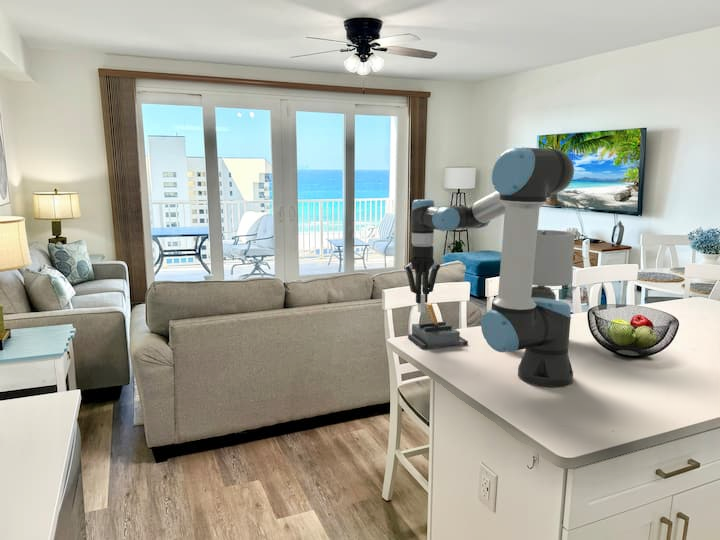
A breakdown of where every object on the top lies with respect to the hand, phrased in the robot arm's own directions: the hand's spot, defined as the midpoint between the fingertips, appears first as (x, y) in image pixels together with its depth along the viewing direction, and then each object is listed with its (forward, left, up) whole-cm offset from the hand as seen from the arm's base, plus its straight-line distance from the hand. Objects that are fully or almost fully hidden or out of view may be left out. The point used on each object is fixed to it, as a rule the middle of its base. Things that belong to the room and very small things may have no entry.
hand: (421, 312), depth 183 cm
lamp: (-4, -45, -12) cm, 47 cm away
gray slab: (0, -14, -11) cm, 18 cm away
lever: (0, -5, -5) cm, 7 cm away
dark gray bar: (0, +2, -11) cm, 11 cm away
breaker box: (0, -5, -11) cm, 13 cm away
